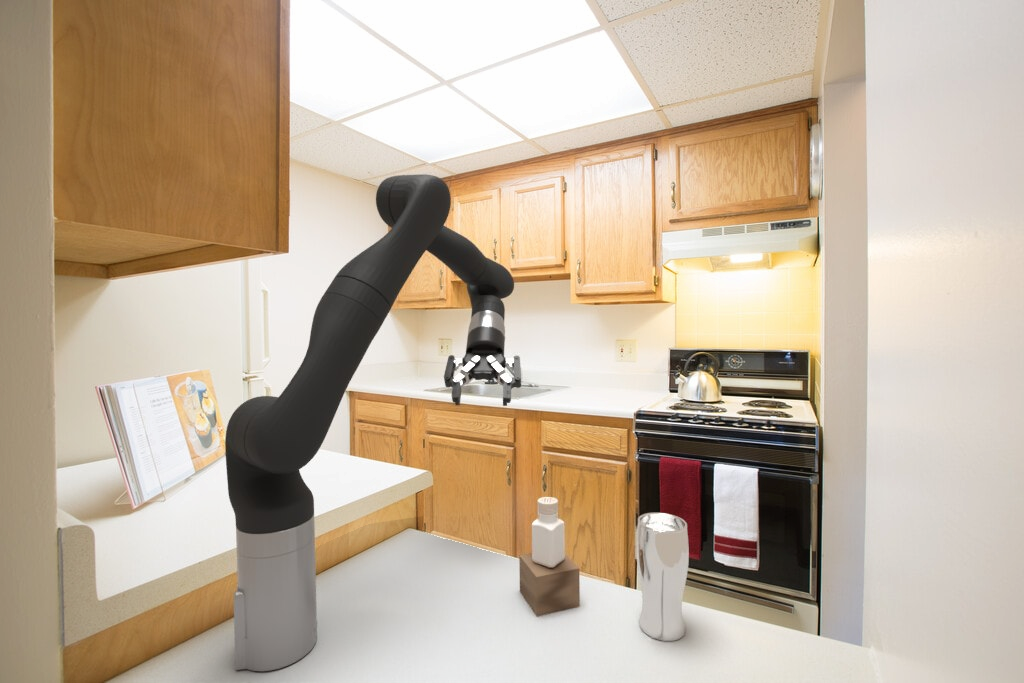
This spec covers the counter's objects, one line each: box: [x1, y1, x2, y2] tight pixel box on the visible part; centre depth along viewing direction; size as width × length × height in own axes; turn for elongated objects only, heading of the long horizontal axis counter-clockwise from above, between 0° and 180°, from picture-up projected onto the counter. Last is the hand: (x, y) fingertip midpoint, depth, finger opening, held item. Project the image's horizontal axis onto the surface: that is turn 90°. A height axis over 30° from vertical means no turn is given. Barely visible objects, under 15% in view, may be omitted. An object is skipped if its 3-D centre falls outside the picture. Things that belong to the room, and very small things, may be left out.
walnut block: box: [518, 552, 581, 617], centre depth 73 cm, size 7×7×6 cm
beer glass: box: [635, 512, 690, 642], centre depth 66 cm, size 7×7×15 cm
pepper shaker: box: [531, 496, 566, 567], centre depth 73 cm, size 4×4×10 cm
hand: (481, 403), depth 84 cm, fingers open, 8 cm apart
